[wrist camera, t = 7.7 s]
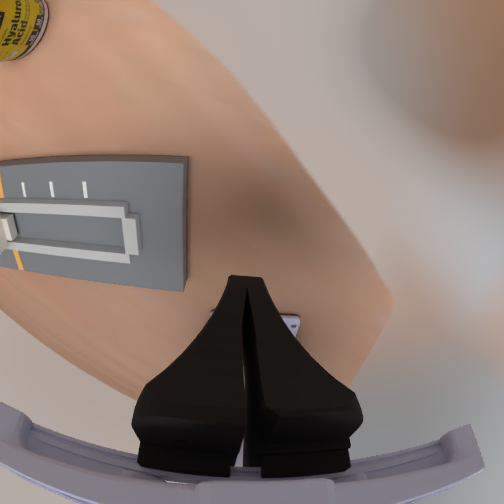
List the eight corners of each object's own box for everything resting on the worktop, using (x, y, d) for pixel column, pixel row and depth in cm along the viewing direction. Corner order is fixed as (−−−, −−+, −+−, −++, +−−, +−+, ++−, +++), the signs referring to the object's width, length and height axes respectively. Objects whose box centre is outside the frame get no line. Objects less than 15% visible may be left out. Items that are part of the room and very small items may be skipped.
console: (186, 279, 24) (181, 298, 22) (-7, 254, 22) (-19, 267, 20) (188, 156, 18) (180, 167, 16) (-29, 164, 17) (-45, 174, 15)
